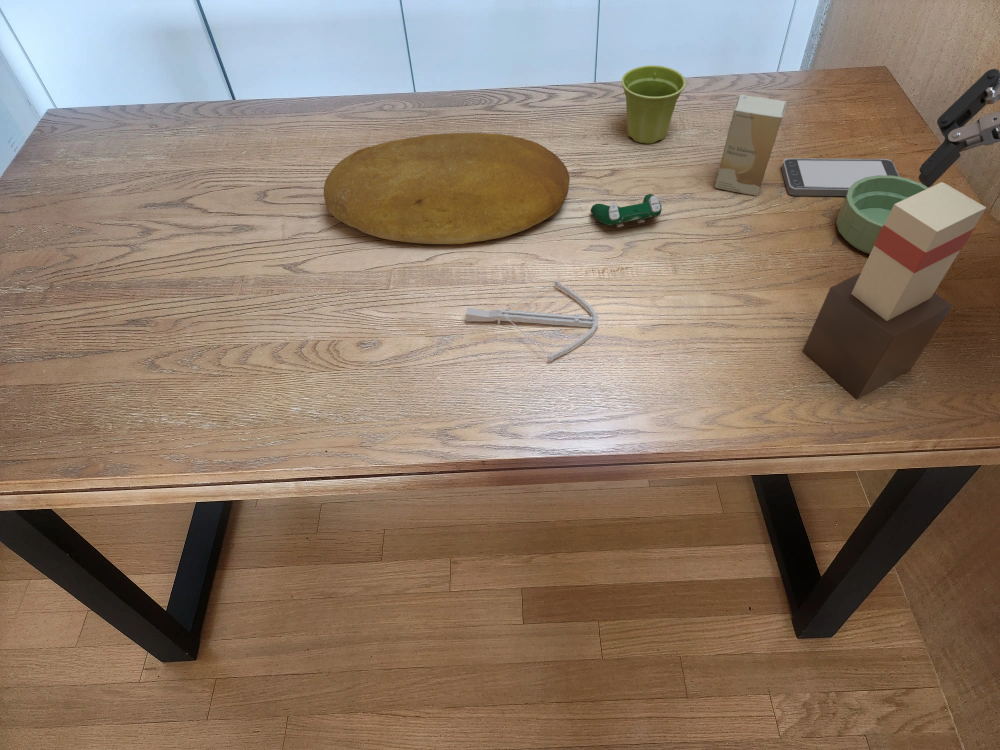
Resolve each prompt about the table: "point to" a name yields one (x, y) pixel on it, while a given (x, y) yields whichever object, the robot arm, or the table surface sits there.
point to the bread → (447, 188)
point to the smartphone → (830, 174)
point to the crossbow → (543, 319)
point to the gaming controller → (627, 211)
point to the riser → (869, 339)
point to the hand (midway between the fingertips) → (962, 206)
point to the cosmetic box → (749, 143)
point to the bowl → (872, 207)
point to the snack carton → (916, 249)
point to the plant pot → (651, 101)
